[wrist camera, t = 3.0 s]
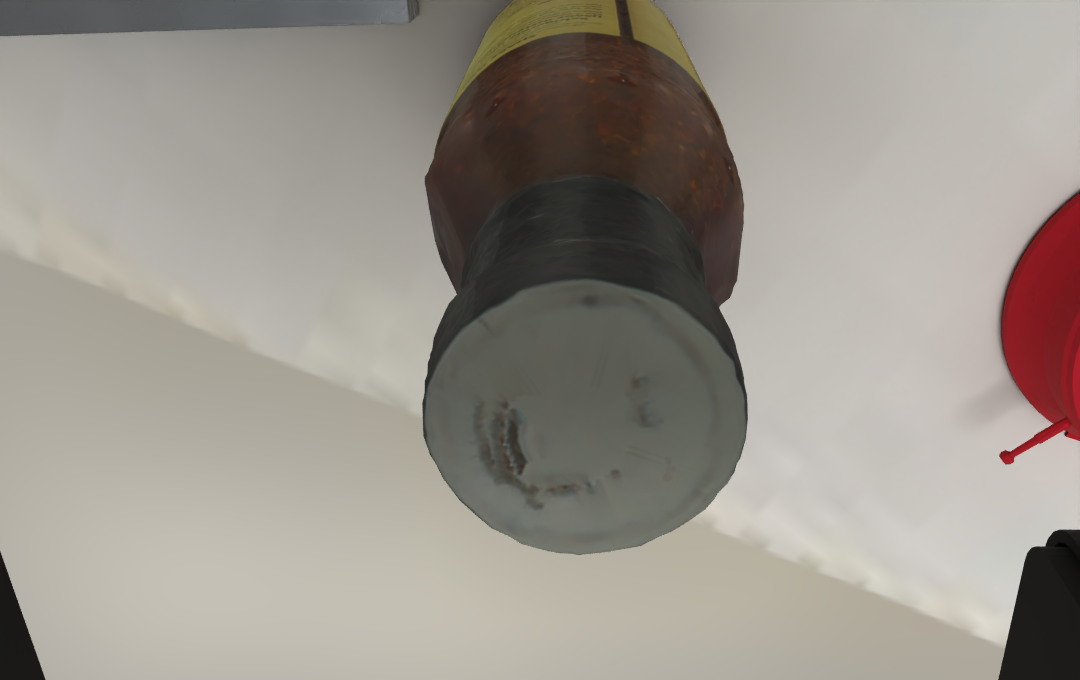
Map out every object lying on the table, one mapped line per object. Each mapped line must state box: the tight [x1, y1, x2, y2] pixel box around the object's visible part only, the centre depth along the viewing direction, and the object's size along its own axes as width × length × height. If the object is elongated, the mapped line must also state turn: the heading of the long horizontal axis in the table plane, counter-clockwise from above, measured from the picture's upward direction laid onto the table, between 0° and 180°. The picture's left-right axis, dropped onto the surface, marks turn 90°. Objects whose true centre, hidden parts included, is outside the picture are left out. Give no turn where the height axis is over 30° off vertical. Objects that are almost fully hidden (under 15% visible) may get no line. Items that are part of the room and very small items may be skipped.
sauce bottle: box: [422, 0, 748, 555], centre depth 20 cm, size 6×6×20 cm
